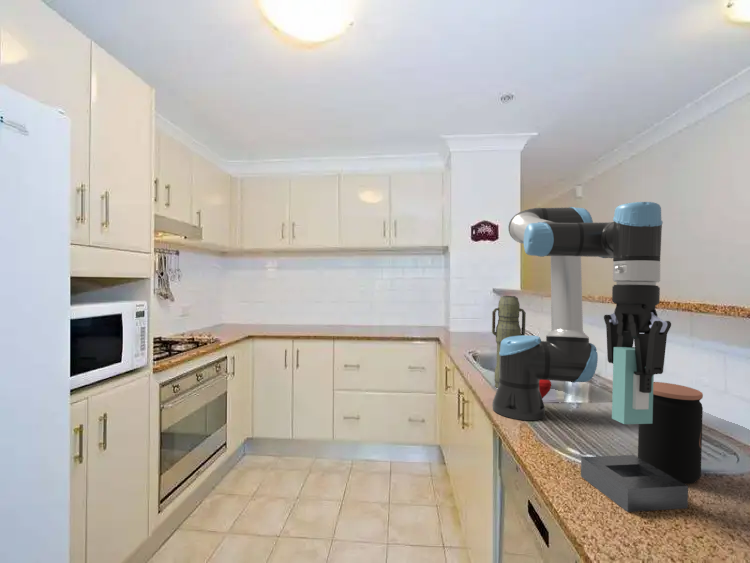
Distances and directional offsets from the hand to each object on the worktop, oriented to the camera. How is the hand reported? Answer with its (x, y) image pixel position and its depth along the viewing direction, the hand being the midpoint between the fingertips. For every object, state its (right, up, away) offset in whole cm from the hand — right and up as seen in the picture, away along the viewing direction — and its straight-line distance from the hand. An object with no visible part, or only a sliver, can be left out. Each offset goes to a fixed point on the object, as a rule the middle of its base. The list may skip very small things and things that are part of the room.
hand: (632, 405), depth 72 cm
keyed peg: (0, -3, 0) cm, 3 cm away
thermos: (0, -17, +70) cm, 72 cm away
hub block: (0, -17, 0) cm, 17 cm away
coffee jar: (+13, -17, +8) cm, 23 cm away
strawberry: (+8, -17, +58) cm, 61 cm away
